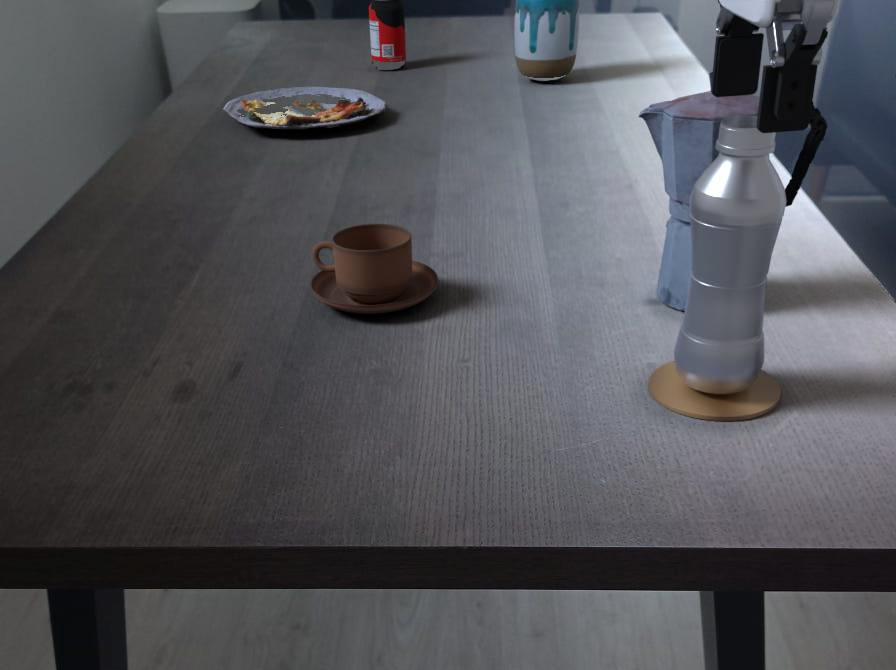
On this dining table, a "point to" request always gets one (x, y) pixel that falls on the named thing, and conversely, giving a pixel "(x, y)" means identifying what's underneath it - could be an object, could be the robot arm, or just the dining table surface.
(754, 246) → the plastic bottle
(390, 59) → the beverage can
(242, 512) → the dining table surface
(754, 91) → the robot arm
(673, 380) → the coaster
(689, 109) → the moka pot
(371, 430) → the dining table surface
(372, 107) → the food plate
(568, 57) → the vase
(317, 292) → the cup and saucer
